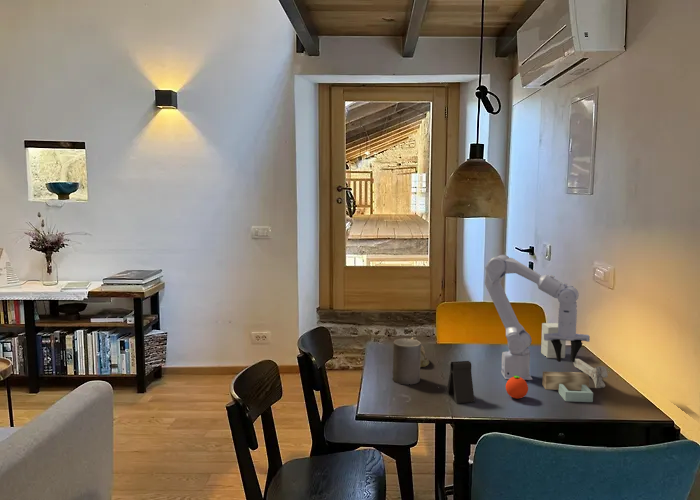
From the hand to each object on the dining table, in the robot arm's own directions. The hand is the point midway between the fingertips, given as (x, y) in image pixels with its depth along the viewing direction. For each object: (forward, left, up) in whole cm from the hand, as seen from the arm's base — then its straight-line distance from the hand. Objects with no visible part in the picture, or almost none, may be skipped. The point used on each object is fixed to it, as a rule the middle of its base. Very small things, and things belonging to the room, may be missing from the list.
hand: (565, 361), depth 184 cm
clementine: (-19, -13, -8) cm, 25 cm away
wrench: (+10, +7, -9) cm, 15 cm away
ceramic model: (-51, +20, -9) cm, 55 cm away
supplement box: (+5, +33, -8) cm, 34 cm away
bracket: (0, -11, -8) cm, 14 cm away
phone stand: (-37, -15, -8) cm, 41 cm away
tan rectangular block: (-1, -3, -8) cm, 9 cm away
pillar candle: (-54, 0, -8) cm, 55 cm away
